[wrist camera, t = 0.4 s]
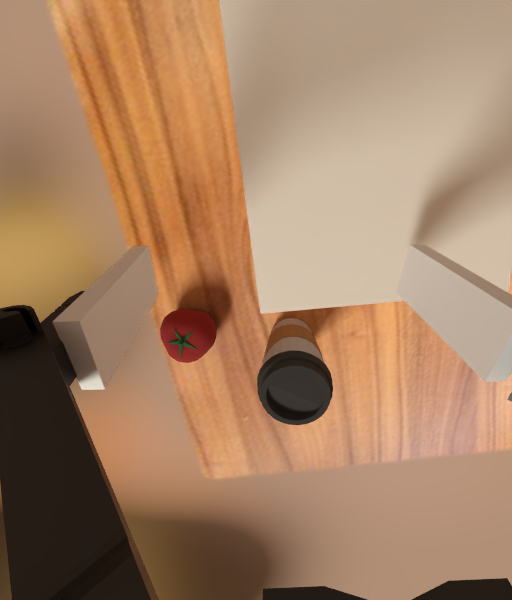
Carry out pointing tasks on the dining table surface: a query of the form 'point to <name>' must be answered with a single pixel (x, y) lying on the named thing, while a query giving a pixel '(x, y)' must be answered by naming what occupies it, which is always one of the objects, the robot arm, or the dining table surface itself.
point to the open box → (370, 141)
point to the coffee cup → (294, 375)
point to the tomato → (188, 334)
